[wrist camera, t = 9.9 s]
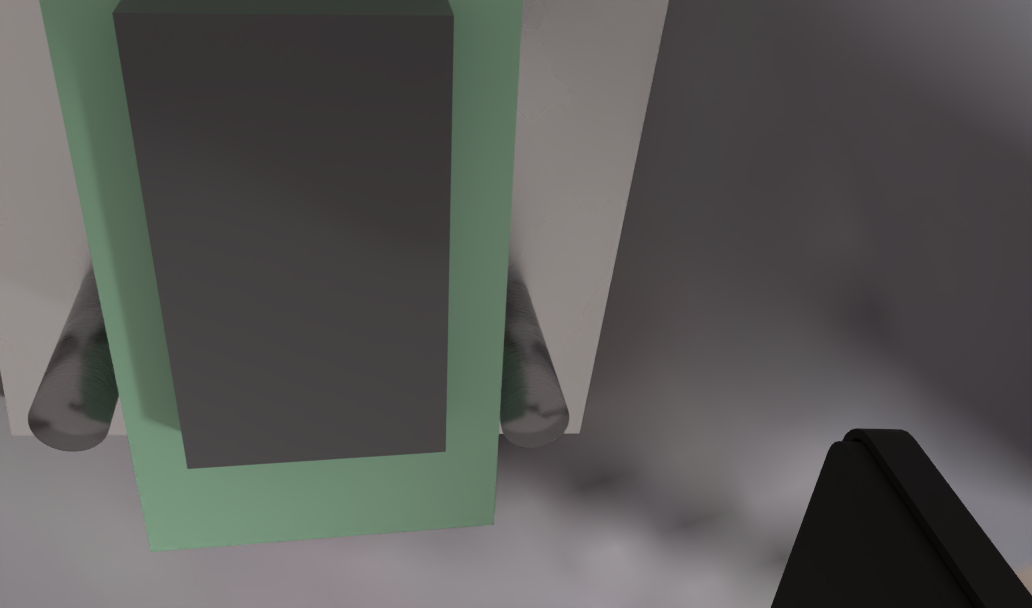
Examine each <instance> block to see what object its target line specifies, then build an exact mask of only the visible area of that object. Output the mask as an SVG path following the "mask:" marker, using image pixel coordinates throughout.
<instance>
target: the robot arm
mask: <svg viewBox="0 0 1032 608" xmlns="http://www.w3.org/2000/svg"><path fill="white" fill-rule="evenodd" d="M771 608H1032V596H1031V594H1030V593H1029V591H1028V590H1027V589H1026V587H1025V586H1024V585H1023V583H1022V582H1021V581H1020V579H1019V578H1018V577H1017V575H1016V574H1015V573H1014V571H1013V570H1012V569H1011V567H1010V566H1009V565H1008V563H1007V562H1006V561H1005V559H1004V558H1003V556H1002V555H1001V554H1000V552H999V551H998V550H997V548H996V547H995V546H994V544H993V543H992V542H991V540H990V539H989V538H988V536H987V535H986V534H985V532H984V531H983V530H982V528H981V527H980V526H979V524H978V523H977V522H976V520H975V519H974V518H973V516H972V515H971V514H970V512H969V511H968V510H967V508H966V507H965V506H964V504H963V503H962V502H961V500H960V499H959V498H958V496H957V495H956V494H955V492H954V491H953V490H952V488H951V487H950V486H949V484H948V483H947V482H946V480H945V479H944V477H943V476H942V475H941V473H940V472H939V471H938V469H937V468H936V467H935V465H934V464H933V463H932V461H931V460H930V459H929V457H928V456H927V455H926V453H925V452H924V451H923V449H922V448H921V447H920V445H919V444H918V443H917V441H916V440H915V439H914V438H913V437H912V436H911V435H910V434H909V433H908V432H906V431H904V430H897V429H853V430H850V431H849V432H848V433H847V434H846V435H845V437H844V439H843V441H838V442H835V443H834V444H832V445H831V447H830V449H829V451H828V453H827V456H826V458H825V461H824V464H823V467H822V469H821V472H820V475H819V478H818V480H817V483H816V486H815V488H814V491H813V494H812V497H811V499H810V502H809V505H808V508H807V510H806V513H805V516H804V518H803V521H802V524H801V527H800V529H799V532H798V535H797V538H796V540H795V543H794V546H793V548H792V551H791V554H790V557H789V559H788V562H787V565H786V568H785V570H784V573H783V576H782V578H781V581H780V584H779V587H778V589H777V592H776V595H775V598H774V600H773V603H772V606H771Z"/></svg>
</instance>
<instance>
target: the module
mask: <svg viewBox="0 0 1032 608" xmlns="http://www.w3.org/2000/svg"><path fill="white" fill-rule="evenodd" d="M39 3H40V8H41V12H42V17H43V22H44V27H45V32H46V37H47V42H48V47H49V52H50V57H51V62H52V67H53V72H54V77H55V82H56V86H57V91H58V96H59V101H60V106H61V111H62V116H63V121H64V126H65V131H66V136H67V141H68V146H69V151H70V155H71V160H72V165H73V170H74V175H75V180H76V185H77V190H78V195H79V200H80V205H81V210H82V215H83V220H84V225H85V229H86V234H87V239H88V244H89V249H90V254H91V259H92V264H93V269H94V274H95V279H96V284H97V289H98V294H99V299H100V303H101V308H102V313H103V318H104V323H105V328H106V333H107V338H108V343H109V348H110V353H111V358H112V363H113V368H114V373H115V377H116V382H117V387H118V392H119V397H120V402H121V407H122V412H123V417H124V422H125V427H126V432H127V437H128V442H129V447H130V451H131V456H132V461H133V466H134V471H135V476H136V481H137V486H138V491H139V496H140V501H141V506H142V511H143V516H144V521H145V525H146V530H147V535H148V540H149V545H150V550H151V552H155V551H168V550H181V549H193V548H206V547H218V546H231V545H243V544H256V543H268V542H281V541H293V540H306V539H318V538H331V537H344V536H356V535H369V534H381V533H394V532H406V531H419V530H431V529H444V528H456V527H469V526H481V525H494V512H495V494H496V476H497V458H498V440H499V422H500V404H501V386H502V368H503V350H504V332H505V314H506V296H507V278H508V260H509V242H510V224H511V206H512V188H513V170H514V152H515V133H516V115H517V97H518V79H519V61H520V43H521V25H522V7H523V0H39Z"/></svg>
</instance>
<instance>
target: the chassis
mask: <svg viewBox="0 0 1032 608" xmlns="http://www.w3.org/2000/svg"><path fill="white" fill-rule="evenodd" d="M668 3H669V0H523V7H522V25H521V43H520V61H519V79H518V97H517V115H516V133H515V152H514V170H513V188H512V206H511V224H510V242H509V260H508V278H507V296H506V314H505V332H504V350H503V368H502V386H501V404H500V422H499V434H504V436H505V437H506V438H507V440H508V441H510V442H511V443H513V444H514V445H516V446H519V447H523V448H538V447H543V446H546V445H548V444H550V443H552V442H554V441H555V440H557V439H558V438H559V437H560V436H561V435H562V434H580V429H581V424H582V419H583V414H584V410H585V405H586V400H587V395H588V390H589V385H590V380H591V376H592V371H593V366H594V361H595V356H596V351H597V347H598V342H599V337H600V332H601V327H602V322H603V317H604V313H605V308H606V303H607V298H608V293H609V288H610V284H611V279H612V274H613V269H614V264H615V259H616V255H617V250H618V245H619V240H620V235H621V230H622V225H623V221H624V216H625V211H626V206H627V201H628V196H629V192H630V187H631V182H632V177H633V172H634V167H635V162H636V158H637V153H638V148H639V143H640V138H641V133H642V129H643V124H644V119H645V114H646V109H647V104H648V100H649V95H650V90H651V85H652V80H653V75H654V70H655V66H656V61H657V56H658V51H659V46H660V41H661V37H662V32H663V27H664V22H665V17H666V12H667V7H668ZM0 372H1V378H2V383H3V389H4V395H5V400H6V406H7V412H8V417H9V423H10V429H11V434H12V436H36V438H38V439H39V440H40V441H41V442H43V443H44V444H46V445H48V446H50V447H52V448H55V449H58V450H63V451H82V450H87V449H90V448H92V447H94V446H96V445H98V444H99V443H101V442H102V441H103V440H104V439H105V437H106V436H107V435H127V432H126V427H125V422H124V417H123V412H122V407H121V402H120V397H119V392H118V387H117V382H116V377H115V373H114V368H113V363H112V358H111V353H110V348H109V343H108V338H107V333H106V328H105V323H104V318H103V313H102V308H101V303H100V299H99V294H98V289H97V284H96V279H95V274H94V269H93V264H92V259H91V254H90V249H89V244H88V239H87V234H86V229H85V225H84V220H83V215H82V210H81V205H80V200H79V195H78V190H77V185H76V180H75V175H74V170H73V165H72V160H71V155H70V151H69V146H68V141H67V136H66V131H65V126H64V121H63V116H62V111H61V106H60V101H59V96H58V91H57V86H56V82H55V77H54V72H53V67H52V62H51V57H50V52H49V47H48V42H47V37H46V32H45V27H44V22H43V17H42V12H41V8H40V3H39V0H0Z"/></svg>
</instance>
